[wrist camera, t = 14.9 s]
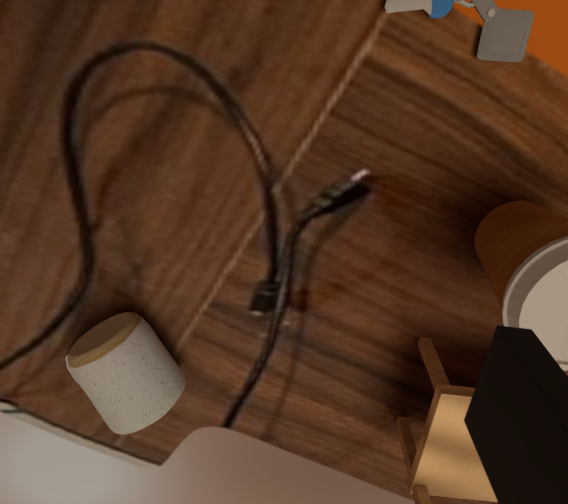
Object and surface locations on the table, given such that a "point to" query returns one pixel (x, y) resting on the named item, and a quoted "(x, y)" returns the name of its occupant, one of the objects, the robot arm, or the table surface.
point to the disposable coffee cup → (529, 270)
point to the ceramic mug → (126, 372)
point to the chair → (443, 442)
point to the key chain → (496, 27)
